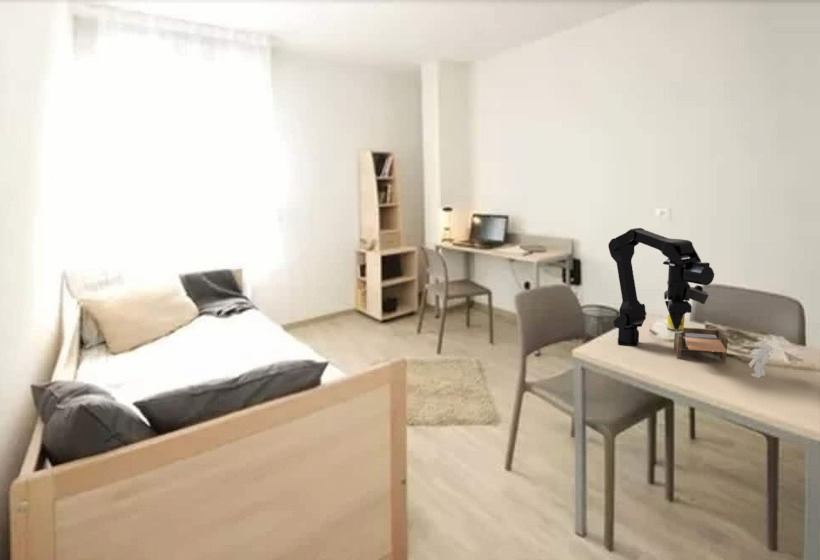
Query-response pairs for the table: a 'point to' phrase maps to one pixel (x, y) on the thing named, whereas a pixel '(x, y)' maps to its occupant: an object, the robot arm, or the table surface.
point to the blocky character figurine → (760, 358)
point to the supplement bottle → (671, 327)
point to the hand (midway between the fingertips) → (675, 326)
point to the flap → (703, 342)
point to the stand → (719, 333)
